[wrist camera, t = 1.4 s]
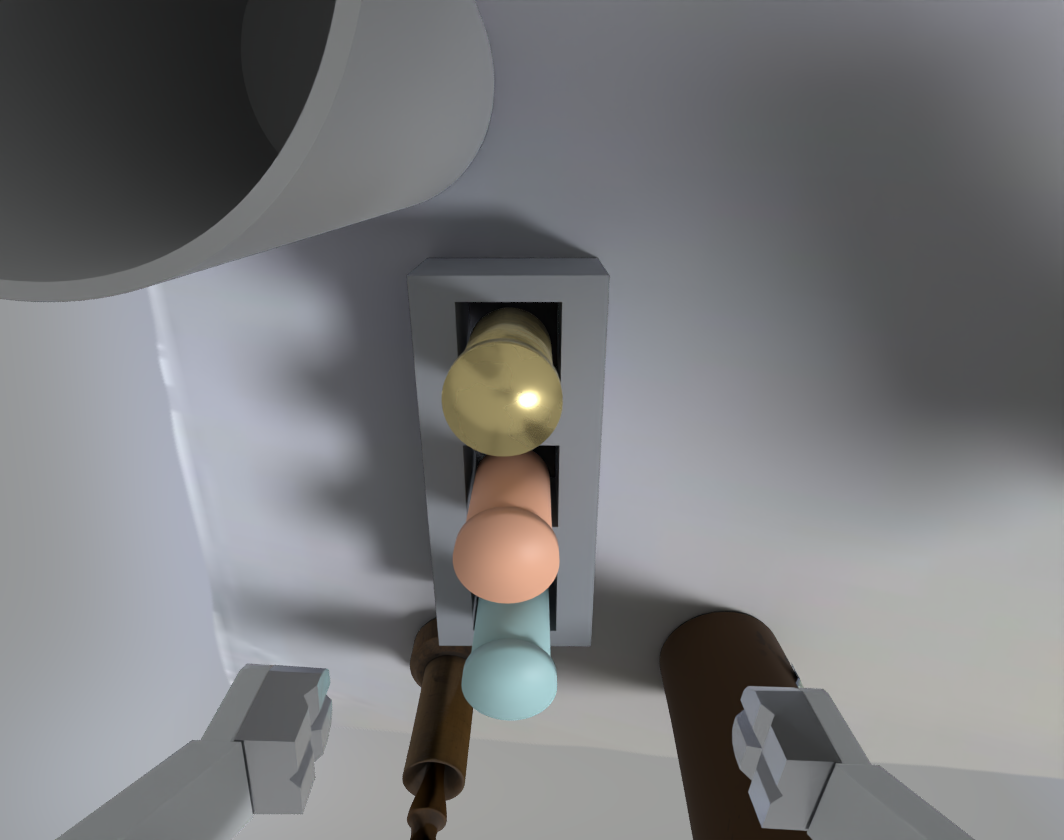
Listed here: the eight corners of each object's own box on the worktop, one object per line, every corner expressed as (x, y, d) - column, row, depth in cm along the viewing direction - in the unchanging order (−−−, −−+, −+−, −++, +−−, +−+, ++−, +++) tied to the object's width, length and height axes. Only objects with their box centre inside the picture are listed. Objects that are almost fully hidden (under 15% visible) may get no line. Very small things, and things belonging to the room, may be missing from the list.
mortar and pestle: (463, 687, 48) (424, 961, 31) (398, 649, 46) (321, 917, 30) (513, 641, 46) (500, 907, 29) (447, 599, 44) (393, 857, 28)
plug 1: (557, 301, 30) (563, 343, 23) (556, 391, 32) (561, 456, 25) (461, 301, 30) (437, 343, 23) (465, 391, 32) (445, 456, 25)
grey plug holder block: (597, 258, 34) (609, 275, 28) (584, 585, 43) (590, 646, 38) (427, 258, 34) (406, 275, 28) (451, 585, 44) (439, 645, 38)
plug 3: (553, 555, 36) (557, 650, 29) (552, 617, 38) (556, 720, 31) (474, 555, 36) (458, 649, 29) (477, 617, 38) (463, 720, 31)
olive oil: (654, 708, 49) (759, 1191, 26) (647, 610, 44) (764, 1082, 22) (783, 696, 48) (1008, 1181, 25) (787, 596, 44) (1063, 1067, 21)
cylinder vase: (544, 70, 30) (568, -240, 7) (402, 255, 34) (121, 436, 11) (345, -136, 27) (-770, -1896, 4) (212, 94, 31) (-746, -124, 8)
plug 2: (555, 440, 33) (560, 516, 26) (554, 515, 35) (558, 603, 28) (468, 440, 33) (449, 515, 26) (472, 514, 35) (455, 603, 28)
